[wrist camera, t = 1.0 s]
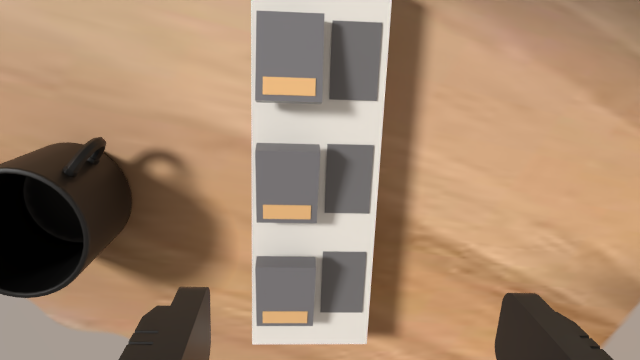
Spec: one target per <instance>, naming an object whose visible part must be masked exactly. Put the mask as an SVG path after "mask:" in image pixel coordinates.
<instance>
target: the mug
mask: <svg viewBox="0 0 640 360" xmlns="http://www.w3.org/2000/svg"><path fill="white" fill-rule="evenodd" d="M105 146H106V141H105V140H104V139H103V138H102V137H99V138H93V139H91V140H90V141H88V142H87V143H86V144H85V145H82V144H77V143H57V144H52V145H49V146H46V147H44V148H41V149H38V150H36V151H33V152H31V153H28V154H25V155H23V156H20V157H18V158H15V159H12V160H10V161H7V162H4V163H2V164H0V294H3V295H7V296H13V297H21V298H31V297H40V296H45V295H49V294H51V293H54V292H57V291H59V290H61V289H62V288H64V287H66V286H67V285H69V284H70V283H71V282H72V281H73V280H74V279H76V277H77V276H78V275H79V274H80V273H81V272H82V271H83V270H84V269H85V268H86V267H87V266H88V265H89V264H90V263H91V262H92V261H93V260H94V259H95V258H96V257H97V256H98V255H99V254H100V252H101V251H102V250H103V249H104V248H105V247H106V246H107V245H108V244H109V243H110V242H111V241H112V240H113V239H114V238H115V237H116V236H117V235H118V234H119V233H120V231H121V230H122V229H123V228H124V226H125V225H126V223H127V221H128V218H129V216H130V212H131V204H132V198H131V192H130V188H129V185H128V182H127V180H126V178H125V176H124V174H123V172H122V171H121V170H120V168H119V167H118V166H117V165H116V164H115V163H114V162H113V161H112V160H111V159H110V158H109V157H108V156H106V155H105V154H103V152H104V150H105Z"/></svg>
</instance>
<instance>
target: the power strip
mask: <svg viewBox="0 0 640 360" xmlns="http://www.w3.org/2000/svg"><path fill="white" fill-rule="evenodd" d="M391 5H392V0H251V108H252V344H367V332H368V319H369V305H370V291H371V278H372V264H373V250H374V237H375V223H376V209H377V196H378V182H379V168H380V155H381V141H382V128H383V114H384V100H385V87H386V73H387V59H388V46H389V32H390V18H391ZM256 11H279V12H302V13H324V55H323V96H322V104H293V103H260V102H256V101H255V77H256ZM257 143H286V144H320V171H319V190H318V209H317V223H257V218H256V166H255V149H256V144H257ZM257 256H304V257H315V258H316V279H315V298H314V316H313V326H257V321H256V275H255V266H256V258H257Z"/></svg>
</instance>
